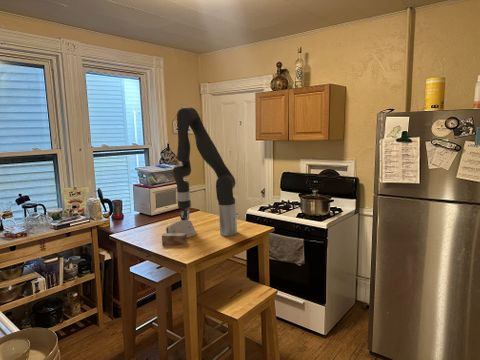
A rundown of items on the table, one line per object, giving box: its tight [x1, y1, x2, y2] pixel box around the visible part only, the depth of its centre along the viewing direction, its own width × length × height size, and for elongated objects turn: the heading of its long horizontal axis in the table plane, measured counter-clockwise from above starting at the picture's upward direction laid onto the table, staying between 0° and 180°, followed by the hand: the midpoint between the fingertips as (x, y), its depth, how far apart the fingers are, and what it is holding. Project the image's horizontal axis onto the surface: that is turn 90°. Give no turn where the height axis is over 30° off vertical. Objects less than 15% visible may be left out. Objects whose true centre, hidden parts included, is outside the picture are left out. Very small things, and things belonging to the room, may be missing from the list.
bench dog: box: [161, 232, 188, 246], centre depth 168 cm, size 12×4×5 cm, turn 84°
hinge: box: [165, 219, 198, 238], centre depth 179 cm, size 17×5×10 cm, turn 135°
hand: (186, 227), depth 190 cm, fingers closed
